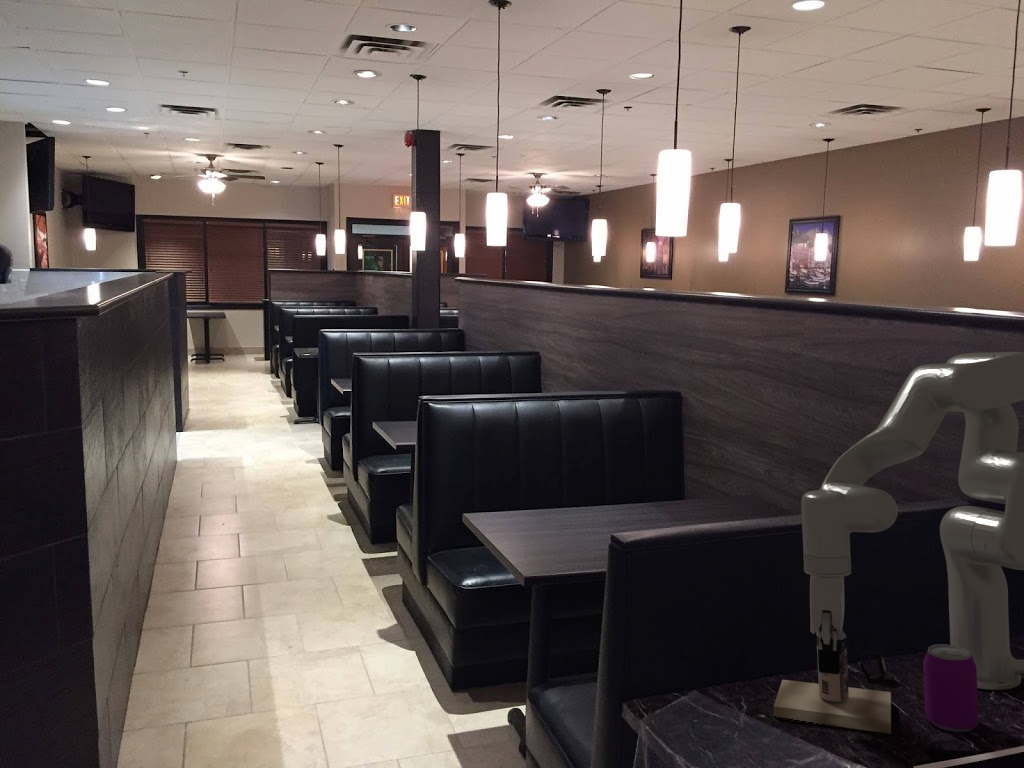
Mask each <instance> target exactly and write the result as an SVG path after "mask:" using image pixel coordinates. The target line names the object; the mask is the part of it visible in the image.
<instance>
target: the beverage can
mask: <svg viewBox="0 0 1024 768" xmlns="http://www.w3.org/2000/svg"><path fill="white" fill-rule="evenodd" d="M922 663H923V687H924V688H923V689H924V691H923V692H924V710H925V711H924V713H925V717H926V719H927V720H928V721H929V722H930V724H932V725H933V724H934V725H933V726H935V727H936V726H937V727H936V728H938V727H939V729H941V730H943V729H944V731H947V732H948V731H949V732H954V733H964V732H965V733H966V732H967V733H968V732H970V731H972V730H973V729H975V728H976V727H977V726H978V725H979V700H978V698H979V697H978V688H977V667H976V664H975V662H974V660H973V658H972V655H971V652H970V651H969V650H967V649H965V648H962V647H959V646H954V645H951V644H943V643H942V644H941V643H940V644H932V645H930V646H928V648H927V651H926V653H925V656H924V658H923V661H922Z"/></svg>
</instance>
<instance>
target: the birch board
mask: <svg viewBox="0 0 1024 768" xmlns="http://www.w3.org/2000/svg"><path fill="white" fill-rule="evenodd" d="M848 692H849V698H848V699H847V700H845V701H844V702H840V703H833V702H828V701H826V700H824V699H823V698H821V697H820V696H819V683H816V682H815V683H814V682H806V681H797V680H789V679H782V680H781V682H780V686H779V689H778V693H777V695H776V698H775V700H774V705H773V717H774V716H776V717H781V718H787V719H793V720H792V721H794V720H800V721H799V722H801V721H806V722H805V723H808V722H813V723H812V724H816V723H818V725H823V724H825V725H824V726H830V725H831V726H833V727H840V728H845V729H854V730H861V731H868V732H874V733H875V732H876V733H882V734H888V735H889V734H892V693H891V691H883V690H877V689H876V690H874V689H865V688H860V687H859V688H857V687H849V686H848Z"/></svg>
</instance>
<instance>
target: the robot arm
mask: <svg viewBox="0 0 1024 768" xmlns="http://www.w3.org/2000/svg"><path fill="white" fill-rule="evenodd" d="M1021 401H1024V352H1022V351H1001V352H999V351H996V352H995V351H994V352H968V353H962V354H958V355H955V356H952V357H950V358H949V359H948V360H947V361H946V363H929V364H928V363H927V364H923V365H920V366H917V367H915V368H914V369H913V370H912V371H910V373H909V374H908V375H907V377H906V379H905V380H904V382H903V384H902V386H901V387H900V389H899V390H898V392H897V394H896V396H895V397H894V399H893V400H892V403H891V404H890V406H889V408H888V410H887V411H886V413H885V414H884V416H883V418H882V419H881V421H880V423H879V424H878V426H877V427H876V428H875V430H873V431H872V432H870V433H869V434H867V435H866V436H864V437H863V438H861V439H860V440H859V441H857V442H856V443H855V444H854V445H852V446H851V447H850V448H849V449H847V450H846V451H845V452H844V453H842V455H841V456H840V457H838V459H837V460H835V462H834V463H833V465H832V467H831V468H830V470H829V472H828V473H827V475H826V476H825V478H824V480H823V481H822V484H821V486H820V487H819V489H815V490H810V491H806V492H805V493H804V494H803V495H802V496H801V503H800V505H801V508H800V509H801V526H802V527H801V528H802V530H801V531H802V546H803V547H802V548H803V549H802V551H803V572H804V573H805V574H807V575H810V577H809V610H810V611H809V615H810V621H809V622H810V629H809V630H810V632H811V633H812V634H814V635H815V634H816V633H818V630H819V648H818V658H817V665H818V664H819V672H821V673H830V674H839V672H840V669H839V650H838V649H837V636H838V635H840V634H841V632H842V629H843V626H844V617H845V577H848V576H850V575H851V574H852V564H851V563H852V562H851V561H852V560H851V540H850V539H851V537H850V536H851V535H850V534H851V533H879V532H883V531H885V530H887V529H889V528H890V527H892V526H893V524H894V523H895V522H896V520H897V517H898V514H899V508H898V504H897V501H896V500H895V499H894V498H893V497H892V495H890V494H889V493H888V492H886V491H884V490H881V489H879V488H876V487H872V486H871V487H869V486H865V485H864V484H866V482H868V480H869V479H870V478H872V477H873V475H875V474H877V473H879V472H880V471H882V470H884V469H886V468H888V467H891V466H895V465H897V464H901V463H903V462H904V463H905V462H907V461H910V460H911V459H914V458H917V457H919V456H921V455H922V454H924V452H925V451H926V449H927V448H928V446H929V444H930V442H931V440H932V439H933V437H934V435H935V433H936V431H937V430H938V428H939V426H940V425H941V423H942V421H943V420H944V419H945V417H946V414H948V413H949V412H952V413H953V412H956V413H963V414H964V419H965V430H964V437H963V442H962V443H963V445H962V451H961V457H960V463H959V467H958V478H957V479H958V480H957V481H958V487H959V489H960V490H961V492H962V493H964V495H966V496H968V497H970V498H973V499H976V500H981V501H984V502H985V501H986V502H991V503H997V504H1001V505H1002V504H1003V505H1005V508H1004V511H1002V510H996V509H994V508H993V509H992V508H986V507H981V506H972V505H960V506H956V507H954V508H952V509H950V510H948V511H947V512H945V514H944V515H943V517H942V519H941V521H940V525H939V536H940V541H941V546H942V549H943V553H944V557H945V561H946V562H945V563H946V571H947V584H948V585H947V587H948V590H947V591H948V611H949V614H948V616H949V641H950V644H949V645H954V646H959V647H962V648H965V649H967V650H969V651H970V652H971V655H972V658H973V660H974V662H975V664H976V667H977V689H978V690H979V689H980V690H990V691H1001V690H1004V691H1005V690H1010V689H1014V688H1017V687H1019V686H1020V685H1021V683H1022V676H1021V674H1024V659H1016V657H1013V655H1012V652H1011V648H1010V624H1009V623H1010V621H1009V619H1010V618H1009V589H1008V582H1007V578H1006V575H1005V573H1004V570H1003V567H1004V568H1008V569H1013V570H1016V571H1017V570H1018V571H1019V570H1020V571H1024V452H1019V451H1017V450H1018V442H1019V441H1018V439H1019V430H1020V427H1019V420H1018V418H1017V414H1016V412H1015V410H1014V408H1013V407H1012V405H1011V404H1015V403H1018V402H1021ZM830 630H834V631H830ZM831 637H833V639H832V638H831Z"/></svg>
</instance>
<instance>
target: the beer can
mask: <svg viewBox="0 0 1024 768" xmlns="http://www.w3.org/2000/svg"><path fill="white" fill-rule="evenodd" d="M830 631H834V630H830ZM815 634H816V651H817V652H816V653H817V655H816V656H817V658H816V659H818V648H819V630H818V633H817V632H815ZM831 638H832V639H833V637H831ZM847 647H848V645H847V635H846V634H845V632H844V629H843V628H842V632H841V634H840V635H838V636H837V649H838V650H839V669H840V672H839V674H830V673H821V672H819V664H818V663H817V673H818V674H817V678H818V684H819V696H820V697H821V698H823V699H824V700H826V701H828V702H833V703H840V702H844V701H845V700H847V699H848V698H849V692H848V687H849V671H848V651H847Z"/></svg>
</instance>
